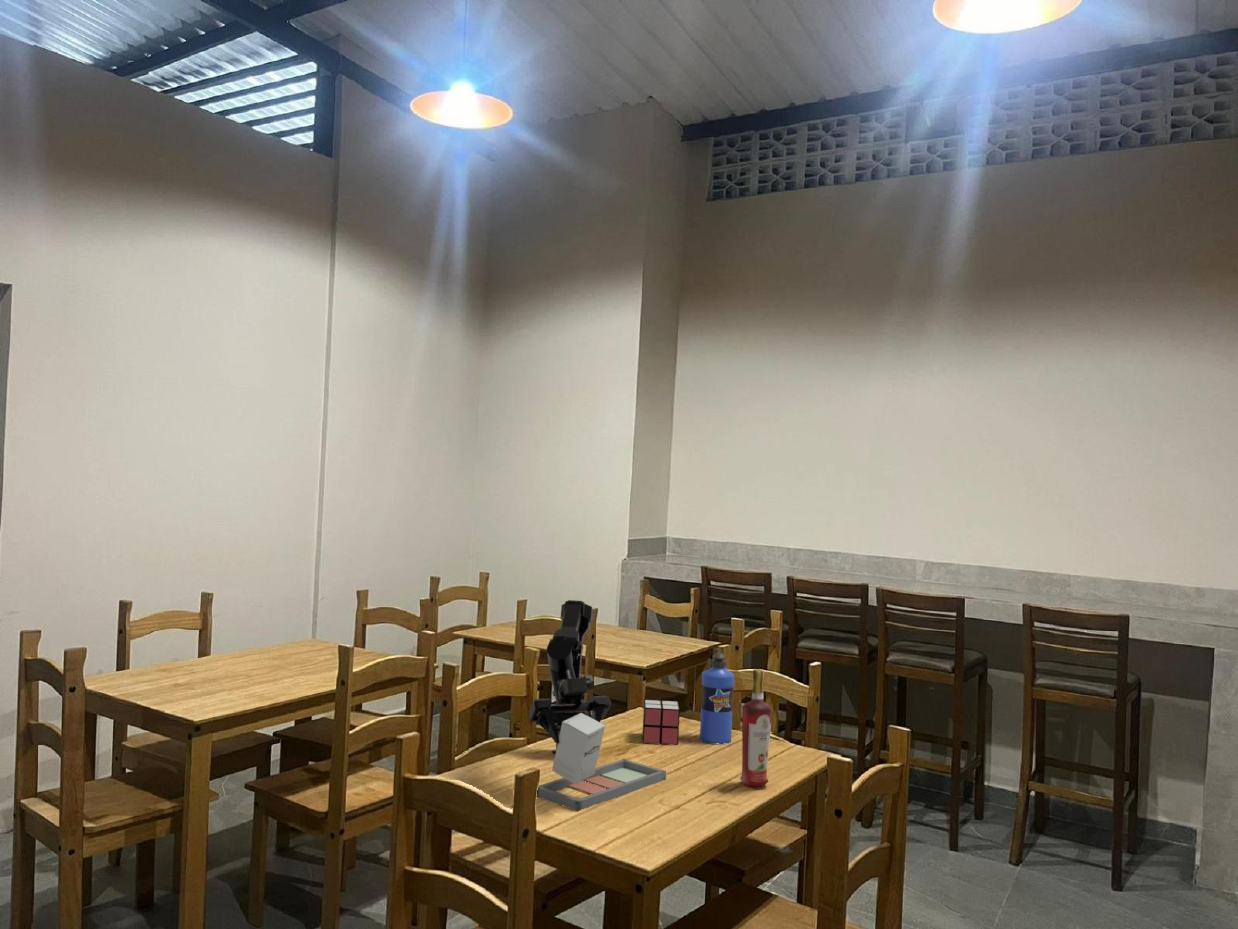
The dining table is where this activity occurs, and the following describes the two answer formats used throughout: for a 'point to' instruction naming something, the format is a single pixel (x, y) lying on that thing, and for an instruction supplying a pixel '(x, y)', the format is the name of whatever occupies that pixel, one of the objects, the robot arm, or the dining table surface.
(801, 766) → the dining table surface
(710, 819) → the dining table surface
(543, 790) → the shallow tray
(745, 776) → the liquor
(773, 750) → the dining table surface
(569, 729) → the supplement box
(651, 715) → the puzzle cube
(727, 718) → the water bottle
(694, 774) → the dining table surface
